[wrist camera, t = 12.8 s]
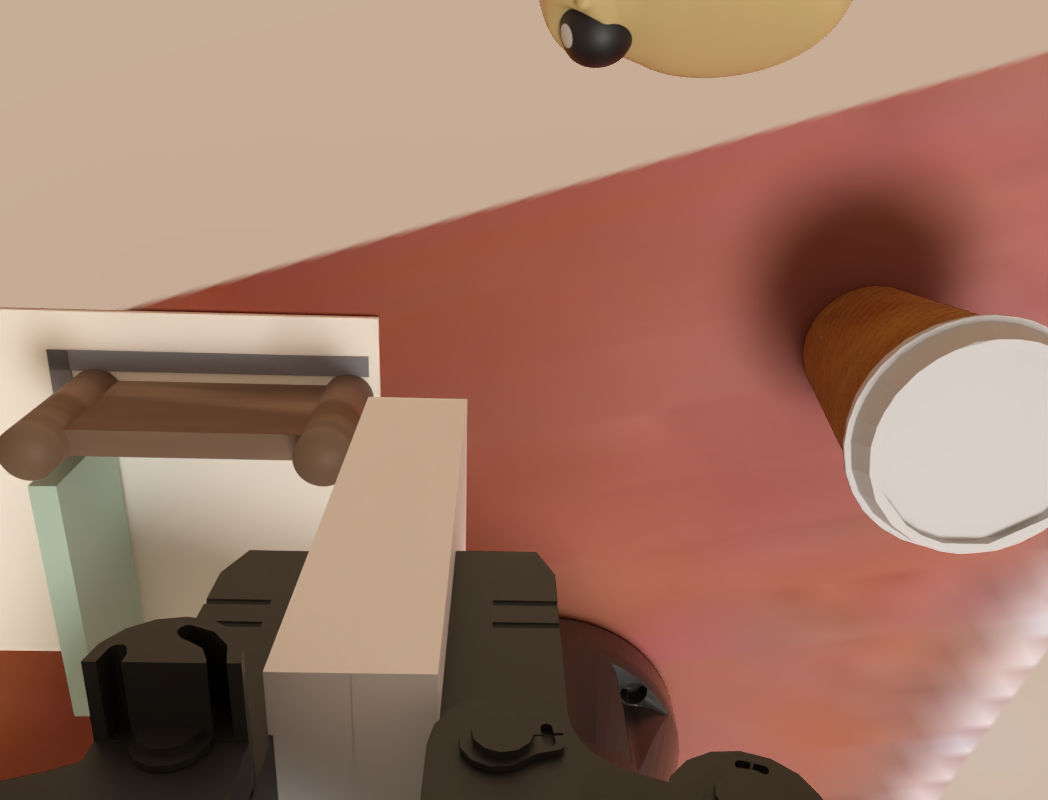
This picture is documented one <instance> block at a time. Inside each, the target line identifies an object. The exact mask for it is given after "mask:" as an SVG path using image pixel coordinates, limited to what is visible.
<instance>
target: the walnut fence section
mask: <svg viewBox="0 0 1048 800" xmlns="http://www.w3.org/2000/svg"><path fill="white" fill-rule="evenodd" d="M368 397H374V395H373V391H372V389H371V387H370V385H369V384H368V383H367V382H366V381H365V380H364V379H362V378H361V377H356V376H353V375H341V376H338V377H335V378H333V379H332V380H331V381H330V382H329V383H328V384H327V385H288V384H245V383H201V382H157V381H118V380H117V378H116V377H115V376H113V375H112V374H111V373H109V372H107V371H102V370H98V369H88V370H84V371H82V372H80V373H79V374H78V375H76V376H75V377H74V378H73V379H71V380H70V381H69V382H67V383H66V384H65V385H64V386H62V387H61V388H60V389H59V390H57V391H56V392H55V393H53V394H52V395H51V396H50V397H48V398H47V399H46V400H45V401H43V402H42V403H41V404H39V405H38V406H37V407H36V408H34V409H33V410H32V411H30V412H29V413H28V414H27V415H25V416H24V417H23V418H22V419H20V420H19V421H18V422H16V423H15V424H14V425H13V426H11V427H10V428H9V429H8V430H6V431H5V432H4V433H3V434H2V435H1V436H0V464H1V466H2V467H3V468H4V469H5V470H6V471H7V472H8V473H9V474H11V475H13V476H14V477H16V478H19V479H22V480H27V481H35V480H40V479H43V478H45V477H46V476H48V475H49V474H50V473H51V472H52V471H53V470H54V469H55V468H56V467H57V466H59V465H60V464H61V463H62V462H63V461H64V460H65V459H66V458H67V457H68V456H95V457H144V458H193V459H242V460H291V461H292V462H293V466H294V469H295V471H296V472H297V474H298V475H299V476H300V477H301V478H302V479H303V480H304V481H306V482H308V483H310V484H312V485H315V486H322V487H324V486H331V485H335V482H336V480H337V477H338V475H339V472H340V469H341V467H342V464H343V462H344V459H345V456H346V454H347V451H348V449H349V446H350V443H351V441H352V438H353V435H354V433H355V430H356V428H357V425H358V422H359V420H360V417H361V415H362V412H363V409H364V407H365V404H366V402H367V399H368Z"/></svg>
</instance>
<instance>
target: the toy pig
mask: <svg viewBox="0 0 1048 800" xmlns="http://www.w3.org/2000/svg"><path fill="white" fill-rule="evenodd" d="M539 2H540V6H541V9H542V13H543V16H544V19H545V22H546V24H547V27H548V29H549V31H550V33H551V34H552V36H553V37H554V39H555V40H556V42H557V43H558V44H559V45H560V46H561V47H562V48H563V49H564V50H565V51H566V52H567V54H568V55H569V57H570V58H571V59H572V60H573V61H575V62H576V63H578V64H580V65H582V66H585V67H590V68H600V67H605V66H609V65H611V64H614V63H616V62H617V61H619V60H620V59H621V58H623V57H624V58H626V59H628V60H631V61H633V62H636V63H639V64H641V65H643V66H645V67H647V68H649V69H652V70H654V71H657V72H661V73H664V74H668V75H674V76H681V77H693V78H715V77H727V76H735V75H741V74H746V73H750V72H754V71H759V70H762V69H766V68H769V67H772V66H775V65H777V64H780V63H783V62H785V61H787V60H789V59H792V58H794V57H796V56H798V55H800V54H801V53H803V52H805V51H806V50H808V49H810V48H811V47H813V46H814V45H815V44H817V43H818V42H819V41H821V40H822V39H823V38H824V37H825V36H826V35H827V34H828V33H829V32H830V31H831V30H832V29H833V28H834V27H835V26H836V24H838V22H839V21H840V20H841V18H842V17H843V15H844V14H845V12H846V10H847V9H848V7H849V5H850V4H851V2H852V0H539Z"/></svg>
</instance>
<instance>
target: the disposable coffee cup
mask: <svg viewBox="0 0 1048 800" xmlns="http://www.w3.org/2000/svg"><path fill="white" fill-rule="evenodd" d="M803 363H804V368H805V373H806V375H807V378H808V380H809V382H810V384H811V386H812V388H813V390H814V392H815V394H816V397H817V399H818V401H819V403H820V405H821V407H822V409H823V411H824V413H825V415H826V417H827V419H828V422H829V424H830V426H831V428H832V430H833V432H834V434H835V436H836V438H837V440H838V443H839V444H840V446H841V448H842V450H843V452H844V469H845V472H846V476H847V479H848V482H849V486H850V488H851V490H852V493H853V495H854V496H855V498H856V500H857V502H858V503H859V505H860V506H861V508H862V509H863V511H864V512H865V513H866V514H867V515H868V516H869V517H870V518H871V519H872V520H873V521H874V522H876V523H877V524H878V525H879V526H880V527H881V528H882V529H884V530H886V531H888V532H889V533H891V534H893V535H894V536H896V537H898V538H900V539H901V540H905V541H908V542H912V543H915V544H918V545H922V546H925V547H929V548H932V549H934V550H937V551H942V552H949V553H956V554H968V553H981V552H989V551H996V550H1000V549H1003V548H1006V547H1009V546H1012V545H1015V544H1018V543H1021V542H1023V541H1025V540H1026V539H1028V538H1030V537H1032V536H1034V535H1036V534H1038V533H1040V532H1042V531H1043V530H1045V529H1046V528H1047V527H1048V327H1046V326H1043V325H1041V324H1039V323H1037V322H1034V321H1032V320H1029V319H1025V318H1019V317H1013V316H1006V315H1000V314H994V315H978V314H976V313H971V312H969V311H967V310H962V309H959V308H955V307H953V306H949V305H947V304H943V303H940V302H937V301H933V300H931V299H927V298H924V297H920V296H917V295H914V294H911V293H907V292H905V291H901V290H899V289H896V288H893V287H885V286H867V287H863V288H859V289H855V290H852V291H850V292H848V293H845V294H843V295H841V296H839V297H838V298H836V299H835V300H833V301H832V302H830V303H829V304H828V305H827V306H826V307H825V308H824V309H823V310H822V311H821V312H820V313H819V315H818V316H817V317H816V319H815V320H814V321H813V323H812V325H811V327H810V329H809V331H808V333H807V336H806V339H805V343H804V347H803Z"/></svg>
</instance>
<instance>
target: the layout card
mask: <svg viewBox="0 0 1048 800" xmlns="http://www.w3.org/2000/svg"><path fill="white" fill-rule="evenodd" d="M88 369H98V370H102V371H107V372H109V373H111V374H112V375H113V376H115V377H116V378H117V380H118V381H157V382H201V383H245V384H288V385H327V384H328V383H329V382H330V381H331V380H332V379H333V378H335V377H338V376H341V375H353V376H356V377H361V378H362V379H364V380H365V381H366V382H367V383H368V384H369V385H370V387H371V389H372V391H373V395H374V397H381V382H380V344H379V317H365V316H325V315H285V314H244V313H204V312H164V311H124V310H83V309H82V310H81V309H43V308H2V307H0V436H1V435H2V434H3V433H4V432H5V431H6V430H8V429H9V428H10V427H11V426H13V425H14V424H15V423H16V422H18V421H19V420H20V419H22V418H23V417H24V416H25V415H27V414H28V413H29V412H30V411H32V410H33V409H34V408H36V407H37V406H38V405H39V404H41V403H42V402H43V401H45V400H46V399H47V398H48V397H50V396H51V395H52V394H53V393H55V392H56V391H57V390H59V389H60V388H61V387H62V386H64V385H65V384H66V383H67V382H69V381H70V380H71V379H73V378H74V377H75V376H76V375H78V374H79V373H80V372H82V371H84V370H88ZM117 463H118V469H119V475H120V482H121V488H122V494H123V500H124V506H125V512H126V518H127V524H128V530H129V537H130V543H131V549H132V555H133V561H134V567H135V573H136V579H137V585H138V592H139V598H140V604H141V610H142V616H143V622H144V623H146V622H149V621H152V620H155V619H165V618H176V617H194V618H196V617H197V615H198V614H199V612H200V610H201V608H202V606H203V604H206V599H207V597H208V595H209V593H210V591H211V589H212V587H213V585H214V584H215V582H216V580H217V578H218V576H219V574H220V572H222V571H223V570H224V569H226V568H227V567H228V566H229V565H231V564H232V563H233V562H235V561H236V560H237V559H239V558H240V557H241V556H243V555H244V554H245V553H246V552H248V551H249V550H275V551H309V550H310V547H311V545H312V542H313V540H314V537H315V534H316V532H317V529H318V527H319V524H320V521H321V519H322V516H323V514H324V511H325V508H326V506H327V503H328V501H329V498H330V495H331V493H332V490H333V488H334V485H331V486H324V487H322V486H315V485H312V484H310V483H308V482H306V481H304V480H303V479H302V478H301V477H300V476H299V475H298V474H297V472H296V471H295V469H294V466H293V462H292V461H291V460H242V459H193V458H144V457H117ZM31 482H32V481H27V480H22V479H19V478H16V477H14V476H13V475H11V474H9V473H8V472H7V471H6V470H5V469H4V468H3V467H2V466H1V464H0V650H16V651H61V648H60V644H59V639H58V634H57V629H56V624H55V619H54V614H53V609H52V604H51V599H50V595H49V590H48V585H47V580H46V575H45V570H44V565H43V560H42V555H41V551H40V546H39V541H38V536H37V531H36V526H35V521H34V516H33V511H32V507H31V502H30V497H29V492H28V487H27V486H28V485H29V484H30V483H31Z"/></svg>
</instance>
